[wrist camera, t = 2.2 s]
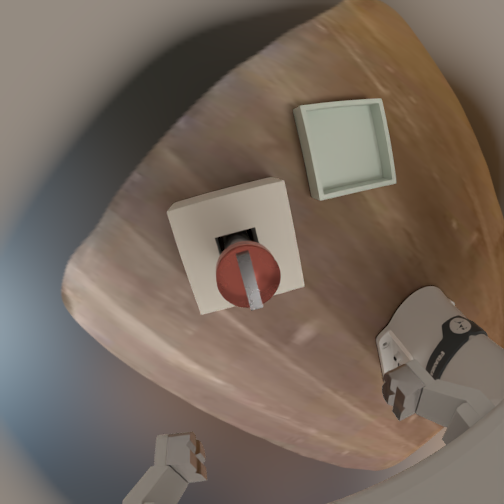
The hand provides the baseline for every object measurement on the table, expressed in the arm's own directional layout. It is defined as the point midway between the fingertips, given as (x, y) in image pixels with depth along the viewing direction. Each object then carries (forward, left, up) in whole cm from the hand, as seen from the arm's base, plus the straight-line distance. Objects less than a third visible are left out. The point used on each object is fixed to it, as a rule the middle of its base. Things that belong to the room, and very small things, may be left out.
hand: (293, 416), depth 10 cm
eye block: (0, 0, -27) cm, 27 cm away
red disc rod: (0, 0, -27) cm, 27 cm away
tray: (+8, -16, -27) cm, 32 cm away
